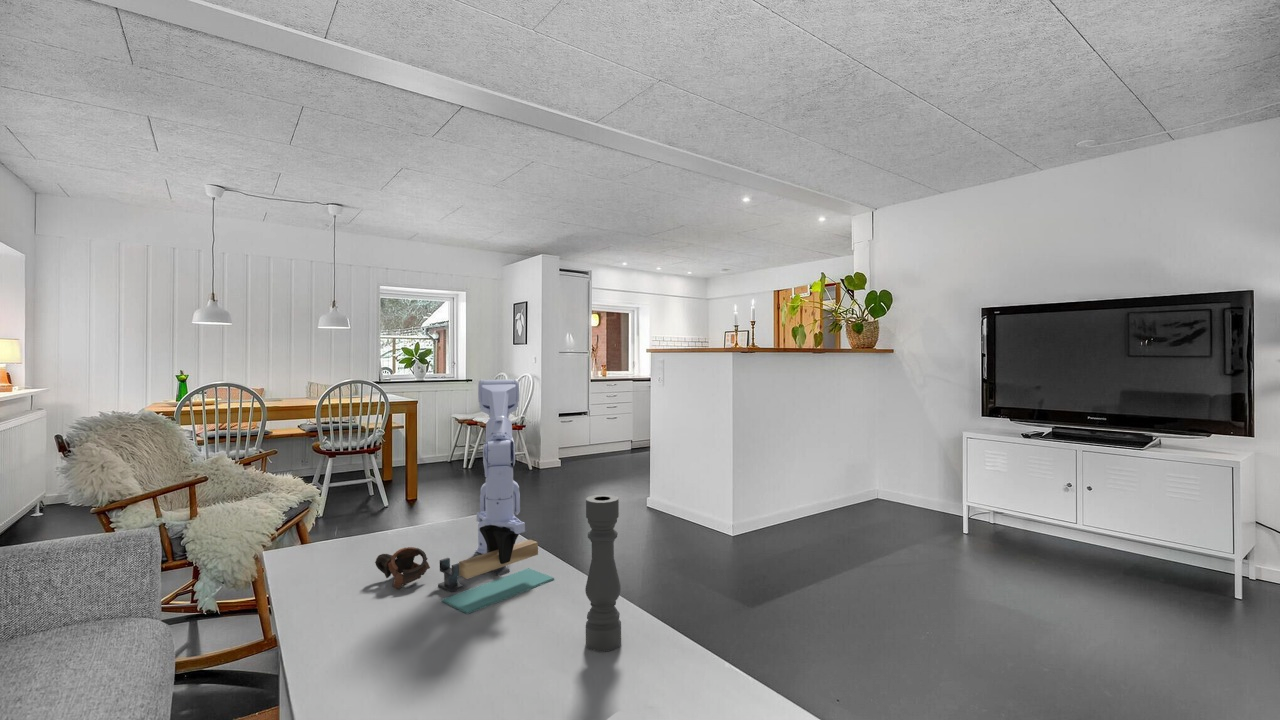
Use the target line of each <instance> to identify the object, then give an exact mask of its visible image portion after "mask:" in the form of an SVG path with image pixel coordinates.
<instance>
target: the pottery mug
mask: <svg viewBox="0 0 1280 720" xmlns="http://www.w3.org/2000/svg"><path fill="white" fill-rule="evenodd" d="M419 555H420V557H421V559H422V560H421V561H422V562H421V564H419V563H417V562H415V561H414V560H415V557H417V556H419ZM374 563H375V566H376V568H377V569H378V570H379V571H380V572H381V573H383V574H384V576H385V579H388V578H390V577H391V575H392V576H393V577H394V579H393V580H394V581H393V583H392V587H393V588H394V589H398V590H400V589H401V588H402V586H404V585H405V586H406V585H408V584H410V583H412V582H414V581H417V580H419V579H421V578H422V576H424V575H425V574H426V572H427V570H429V569H430V568H431V567H430V565H429V562H428V557H427V554H426V552H425V551H424V550H422V549H420V548H418V547H414V546H413V547H412V546H409V547H404V548H400V549H398V550H396V551H395V552H394V553H393V554H389V553H381V554H379V555H378V556H377V557H376V559H375V562H374Z"/></svg>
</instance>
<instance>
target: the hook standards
mask: <svg viewBox="0 0 1280 720" xmlns="http://www.w3.org/2000/svg"><path fill="white" fill-rule="evenodd" d="M487 553H489V551H488V547H487ZM439 572H440V573H443V576H444V577H443V581H442V582H439V583H438V587H439V588H441V589H443V590H444V591H448V592H449V593H454V592H457V591H459V590H462V589H464V588H465V587H464V584H461V583H460V582H459V581H458V578H459V577H460V576H459V562H457V563H455V564H452V565H451V558H450V557H445V558H443V559H439ZM509 572H510V568H508V567H506V566H503V567H500V568H497V569H495V570H492V571H489V573H491V574H494V575H497V576H502V575H504V574H507V573H509Z"/></svg>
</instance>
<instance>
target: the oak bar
mask: <svg viewBox="0 0 1280 720" xmlns="http://www.w3.org/2000/svg"><path fill="white" fill-rule="evenodd" d="M538 555H539V542H538V541H536V540H533V539H527V540H524V541H521V542H517V543H515V544H514V547H513V551H512V555H511V559H510V562H507V563H504V564H501V563H500V560H499V552H498V550H495V551H492V552H489V553H485V554H479V555H477V556H472V557H470V558H467V559H463V560H460V561H458V563H459V576H458V577H462V578H464V579H465V580H469V579H471V578H473V577H476V576H477V577H478V576H479V575H482V574H485V573H488V572H489V571H492V570H495V569H497V568H500V567H503V566H504V567H506V566H508V565H511V564H512V565H513V564H514V563H518V562H520V561H523V560H526V559H529V558H532V557H535V556H538ZM489 573H490V572H489Z"/></svg>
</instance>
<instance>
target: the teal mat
mask: <svg viewBox="0 0 1280 720" xmlns="http://www.w3.org/2000/svg"><path fill="white" fill-rule="evenodd" d="M554 580H555V577H553V576H552V575H548V574H545V573H542V572H540V571H538V570H535V569H532V568H530V567H527V568H525V569H522V570H519V571H517V572H514V573H511V574H509V575H506V576H503V577H501V578H498V579H495V580H491V581H489V582H486V583H484V584H480V585H478V586H475V587H473V588H470V589H466V590H464V591H461V592H458V593H456V594H454V595H451V596H447V597H445V598H441V600H442V601H441V602H443V603H445V604H447V605H449V606H450V605H451V607H452V608H454V607H455V608H454V609H457V610H458V611H459V612H462V613H464V614H466V615H468V614H470V613H474V612H475V611H478V610H481V609H483V608H485V607H488V606H491V605H494V604H496V603H499V602H501V601H503V600H505V599H509V598H511V597H514V596H516V595H518V594H521V593H523V592H527V591H529V590H531V589H534V588H535V587H538V586H541V585H543V584H546V583H549V582H551V581H554Z"/></svg>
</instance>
